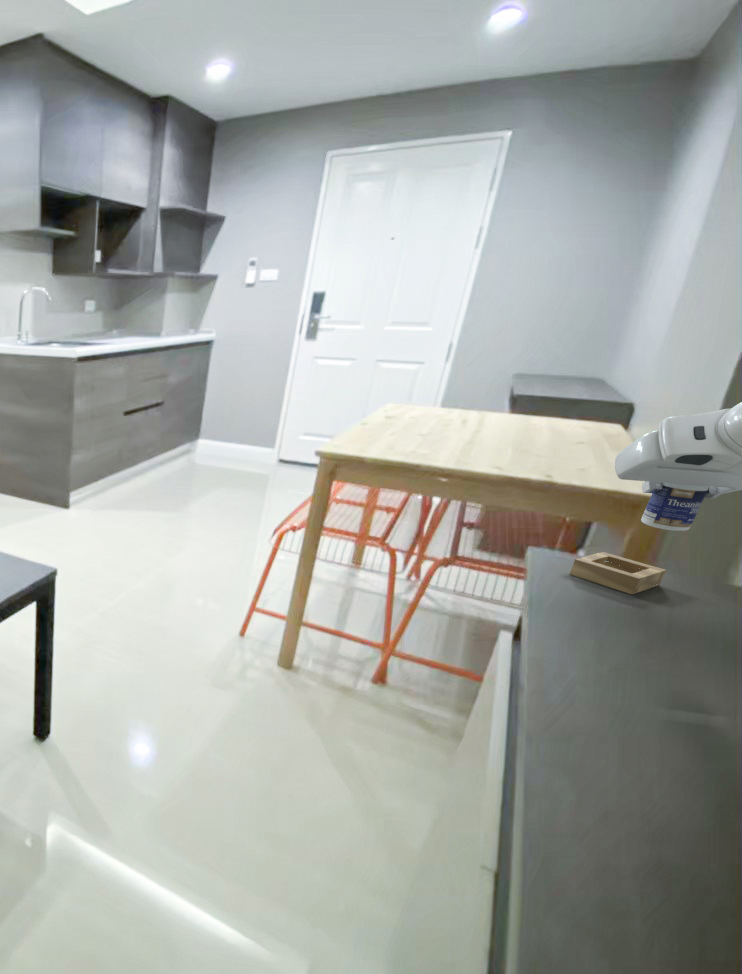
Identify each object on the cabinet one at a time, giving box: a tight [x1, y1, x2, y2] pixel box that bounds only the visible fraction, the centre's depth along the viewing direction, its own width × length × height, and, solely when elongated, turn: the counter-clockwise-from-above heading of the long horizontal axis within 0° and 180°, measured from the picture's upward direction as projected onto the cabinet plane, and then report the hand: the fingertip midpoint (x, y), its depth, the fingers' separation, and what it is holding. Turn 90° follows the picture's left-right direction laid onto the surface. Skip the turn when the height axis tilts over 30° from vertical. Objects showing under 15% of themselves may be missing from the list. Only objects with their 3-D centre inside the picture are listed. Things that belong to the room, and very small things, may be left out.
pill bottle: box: [640, 483, 709, 532], centre depth 92 cm, size 5×5×10 cm
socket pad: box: [569, 551, 667, 595], centre depth 108 cm, size 9×9×3 cm
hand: (676, 491), depth 92 cm, fingers closed on pill bottle, 5 cm apart
